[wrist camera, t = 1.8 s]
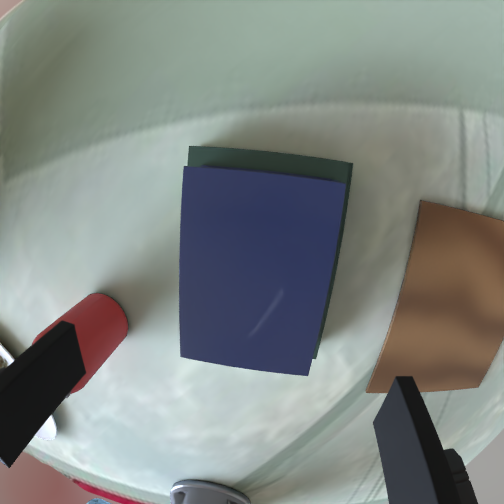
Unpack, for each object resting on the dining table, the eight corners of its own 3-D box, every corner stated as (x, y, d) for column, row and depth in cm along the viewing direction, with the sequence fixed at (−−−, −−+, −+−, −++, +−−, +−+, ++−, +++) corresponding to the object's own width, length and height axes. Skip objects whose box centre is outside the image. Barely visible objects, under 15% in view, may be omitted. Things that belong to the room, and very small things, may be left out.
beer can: (112, 284, 30) (44, 339, 19) (140, 334, 32) (87, 403, 20) (76, 298, 32) (12, 348, 20) (102, 344, 33) (49, 403, 22)
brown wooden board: (477, 385, 29) (478, 387, 29) (365, 390, 31) (366, 393, 30) (535, 230, 23) (537, 231, 22) (420, 200, 24) (422, 200, 24)
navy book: (306, 345, 27) (308, 376, 22) (195, 329, 28) (180, 357, 23) (335, 179, 22) (346, 183, 18) (202, 165, 23) (183, 166, 19)
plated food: (6, 316, 35) (-7, 324, 32) (85, 445, 43) (78, 456, 40) (-45, 320, 40) (-54, 326, 37) (13, 421, 48) (6, 428, 45)
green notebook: (314, 344, 29) (315, 359, 27) (190, 327, 31) (182, 339, 28) (347, 163, 24) (353, 163, 22) (197, 147, 25) (188, 146, 23)
